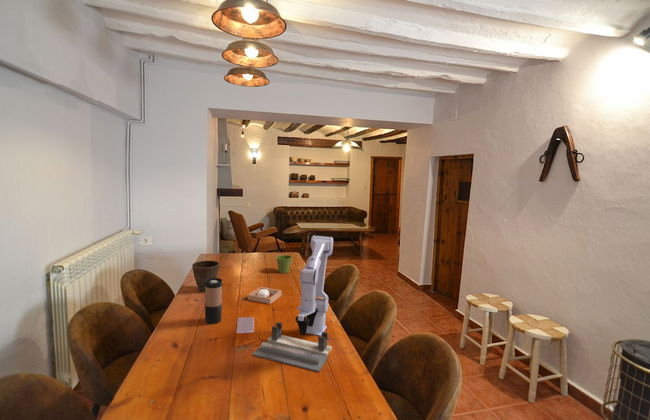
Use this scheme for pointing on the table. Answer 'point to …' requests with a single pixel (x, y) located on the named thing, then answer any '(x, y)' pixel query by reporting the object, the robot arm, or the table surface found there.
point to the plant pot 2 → (283, 263)
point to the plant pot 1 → (204, 272)
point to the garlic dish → (254, 297)
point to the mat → (291, 359)
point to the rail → (291, 353)
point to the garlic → (263, 293)
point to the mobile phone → (245, 325)
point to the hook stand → (299, 342)
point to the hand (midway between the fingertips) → (306, 330)
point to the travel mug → (213, 300)
